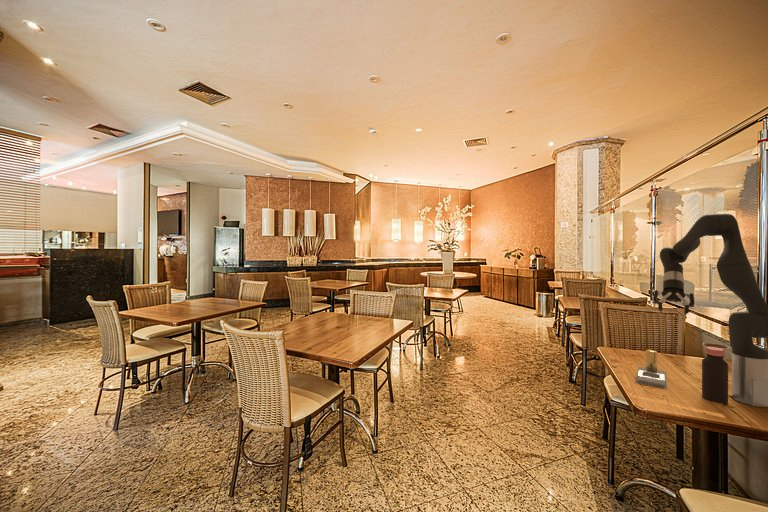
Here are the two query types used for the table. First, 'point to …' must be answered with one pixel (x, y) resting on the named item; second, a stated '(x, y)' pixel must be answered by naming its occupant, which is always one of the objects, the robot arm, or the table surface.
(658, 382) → the collar
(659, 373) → the grey base plate
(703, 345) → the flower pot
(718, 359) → the bottle
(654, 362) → the pin
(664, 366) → the table surface
